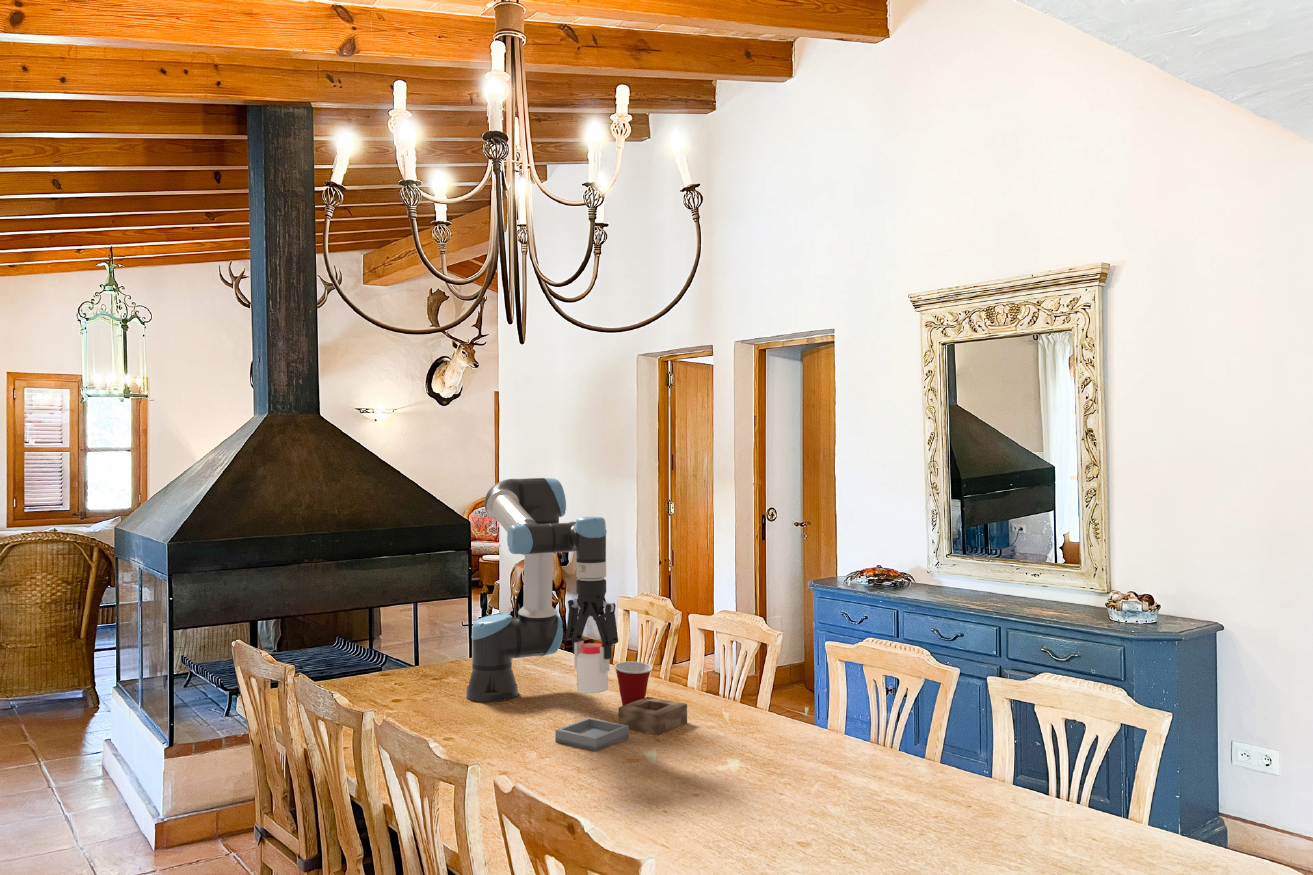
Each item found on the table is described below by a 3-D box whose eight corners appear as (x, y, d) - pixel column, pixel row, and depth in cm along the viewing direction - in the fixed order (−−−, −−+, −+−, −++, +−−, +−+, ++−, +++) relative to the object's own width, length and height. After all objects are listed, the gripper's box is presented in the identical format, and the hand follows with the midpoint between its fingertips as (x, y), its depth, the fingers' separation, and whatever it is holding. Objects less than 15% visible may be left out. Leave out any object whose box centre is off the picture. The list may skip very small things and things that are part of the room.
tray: (555, 741, 230) (555, 729, 230) (589, 728, 240) (589, 717, 240) (595, 751, 222) (595, 738, 222) (628, 737, 233) (628, 725, 233)
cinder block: (618, 726, 242) (618, 707, 242) (647, 714, 253) (647, 696, 253) (658, 734, 235) (658, 715, 235) (687, 722, 245) (687, 703, 245)
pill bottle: (609, 685, 235) (609, 642, 235) (606, 693, 227) (605, 648, 228) (579, 685, 236) (578, 642, 236) (574, 693, 228) (574, 648, 228)
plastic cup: (634, 715, 252) (634, 671, 252) (606, 708, 259) (606, 665, 260) (660, 707, 260) (660, 664, 261) (632, 700, 268) (632, 659, 268)
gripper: (550, 577, 235) (551, 667, 234) (614, 583, 223) (614, 678, 222) (570, 574, 241) (570, 661, 241) (632, 579, 229) (633, 672, 228)
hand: (591, 669), depth 231 cm, fingers closed on pill bottle, 8 cm apart
